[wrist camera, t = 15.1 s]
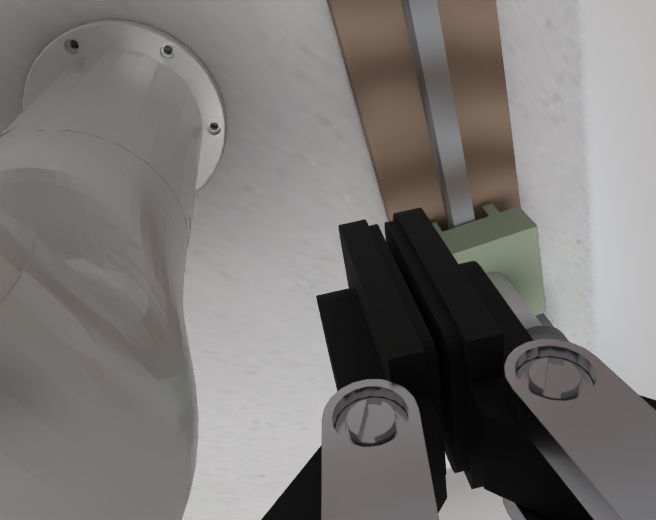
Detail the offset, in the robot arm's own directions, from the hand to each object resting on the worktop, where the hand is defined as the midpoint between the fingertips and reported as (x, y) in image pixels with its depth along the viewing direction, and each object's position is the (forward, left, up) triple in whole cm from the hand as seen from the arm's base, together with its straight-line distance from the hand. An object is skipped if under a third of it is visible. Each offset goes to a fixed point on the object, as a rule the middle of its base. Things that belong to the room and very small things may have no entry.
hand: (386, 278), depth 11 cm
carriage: (-6, -21, -27) cm, 34 cm away
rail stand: (-4, -19, -29) cm, 35 cm away
